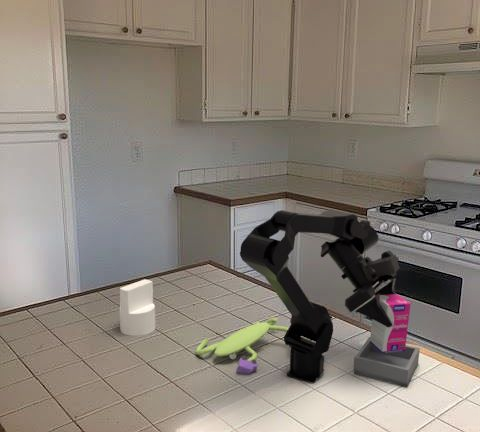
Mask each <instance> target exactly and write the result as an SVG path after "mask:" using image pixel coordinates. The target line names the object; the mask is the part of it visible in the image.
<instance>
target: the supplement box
mask: <svg viewBox="0 0 480 432" xmlns="http://www.w3.org/2000/svg"><path fill="white" fill-rule="evenodd" d="M375 296H376V295H375ZM379 303H380V305H381V306H382V308H383V309H384V311H385V313H386V314H387V316H388V317H389V319H390V321H391V323H392V326H391V327H386V326H385V325H383V324H381V323H379V322H377V321H375V320H373V319H371V327H370V328H371V329H370V336H369V337H370V343H371V344H372V345H373V346H374V347H375V348H376V349H377V350H378V351H380V352H381V353H389V352H403V351H405V346H406V345H407V337H408V329H409V328H408V327H409V320H410V312H411V311H410V310H411V303H410V301H408V300H406V299H404V298H403V297H402V296H400V294H397V293H396V294H392V295H380V299H379Z"/></svg>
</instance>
